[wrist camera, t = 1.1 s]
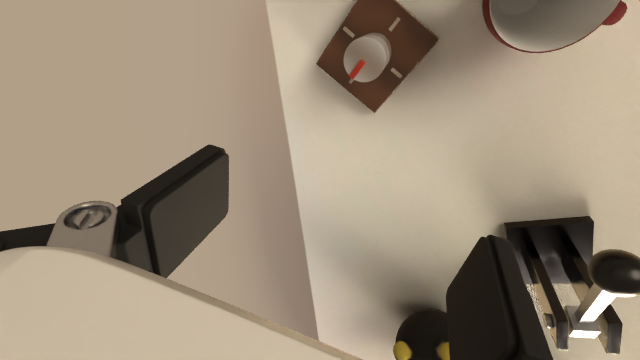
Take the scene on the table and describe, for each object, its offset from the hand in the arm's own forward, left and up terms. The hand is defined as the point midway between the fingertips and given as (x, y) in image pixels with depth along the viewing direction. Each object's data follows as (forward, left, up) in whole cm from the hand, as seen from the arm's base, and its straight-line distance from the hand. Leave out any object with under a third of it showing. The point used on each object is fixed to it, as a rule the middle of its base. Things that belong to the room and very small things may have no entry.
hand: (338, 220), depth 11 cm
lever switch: (+5, +30, -29) cm, 42 cm away
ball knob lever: (+1, +24, -16) cm, 29 cm away
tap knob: (0, -4, -27) cm, 27 cm away
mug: (-13, +5, -29) cm, 32 cm away
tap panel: (0, -4, -29) cm, 29 cm away
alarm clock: (+27, +33, -29) cm, 52 cm away
